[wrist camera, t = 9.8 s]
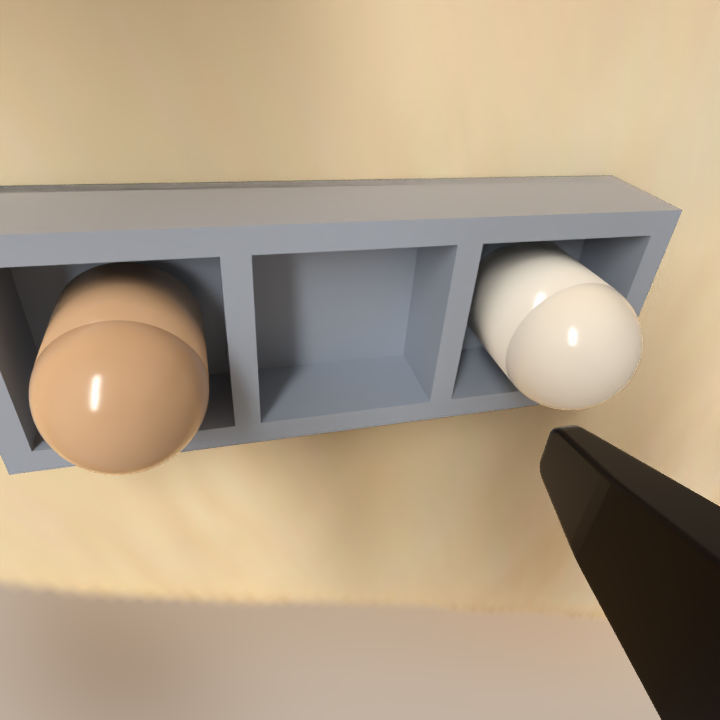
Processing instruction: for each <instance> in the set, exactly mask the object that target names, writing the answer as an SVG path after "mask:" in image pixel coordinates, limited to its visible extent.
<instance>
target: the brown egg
mask: <svg viewBox="0 0 720 720" xmlns="http://www.w3.org/2000/svg"><path fill="white" fill-rule="evenodd" d="M208 402H209V374H208V361H207V349H206V336H205V323H204V317H203V312H202V309H201V307H200V304H199V302H198V301H197V299H196V297H195V296H194V294H193V293H192V292H191V291H190V289H189V288H188V287H187V286H186V285H185V284H183V283H182V282H181V281H180V280H179V279H177V278H176V277H174V276H172V275H171V274H169V273H167V272H165V271H163V270H161V269H158V268H155V267H153V266H149V265H145V264H141V263H132V262H116V263H108V264H103V265H99V266H96V267H93V268H91V269H88V270H86V271H84V272H82V273H81V274H79V275H78V276H76V277H75V278H74V279H72V280H71V281H70V282H69V283H68V284H67V285H66V286H65V288H64V289H63V290H62V292H61V293H60V295H59V297H58V299H57V301H56V304H55V307H54V310H53V313H52V315H51V318H50V321H49V324H48V327H47V330H46V332H45V335H44V338H43V341H42V344H41V347H40V349H39V352H38V355H37V358H36V361H35V363H34V366H33V370H32V373H31V377H30V382H29V406H30V410H31V414H32V417H33V421H34V423H35V425H36V427H37V429H38V431H39V433H40V435H41V436H42V438H43V439H44V440H45V442H46V443H47V444H48V445H49V446H50V447H51V448H52V449H53V450H54V451H55V452H56V453H57V454H58V455H60V456H61V457H62V458H63V459H65V460H67V461H68V462H70V463H72V464H74V465H76V466H78V467H80V468H83V469H85V470H88V471H92V472H96V473H101V474H110V475H125V474H133V473H138V472H142V471H146V470H149V469H151V468H154V467H156V466H159V465H161V464H163V463H165V462H166V461H168V460H170V459H171V458H173V457H174V456H175V455H176V454H178V453H179V452H180V451H181V450H183V449H184V448H185V447H186V446H187V444H188V443H189V442H190V441H191V440H192V439H193V437H194V436H195V434H196V433H197V431H198V430H199V428H200V426H201V424H202V422H203V420H204V417H205V414H206V411H207V407H208Z"/></svg>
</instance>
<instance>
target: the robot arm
mask: <svg viewBox="0 0 720 720" xmlns="http://www.w3.org/2000/svg"><path fill="white" fill-rule="evenodd" d="M540 473H541V477H542V479H543V482H544V484H545V487H546V489H547V492H548V494H549V496H550V499H551V501H552V504H553V506H554V509H555V511H556V513H557V516H558V518H559V521H560V523H561V526H562V528H563V530H564V533H565V535H566V538H567V540H568V543H569V545H570V547H571V549H572V552H573V554H574V556H575V558H576V560H577V562H578V564H579V566H580V568H581V570H582V572H583V574H584V576H585V578H586V580H587V582H588V583H589V585H590V587H591V589H592V591H593V593H594V595H595V597H596V598H597V600H598V602H599V604H600V606H601V608H602V610H603V611H604V613H605V615H606V617H607V619H608V621H609V623H610V625H611V626H612V628H613V630H614V632H615V634H616V636H617V638H618V640H619V641H620V643H621V645H622V647H623V648H624V650H625V652H626V654H627V656H628V658H629V660H630V662H631V664H632V666H633V668H634V669H635V671H636V673H637V675H638V677H639V679H640V681H641V682H642V684H643V686H644V688H645V690H646V692H647V694H648V695H649V697H650V699H651V701H652V703H653V705H654V707H655V708H656V711H657V712H658V714H659V716H660V718H661V720H720V506H718V505H716V504H715V503H713V502H711V501H709V500H708V499H706V498H704V497H702V496H701V495H699V494H697V493H695V492H694V491H692V490H690V489H688V488H687V487H685V486H683V485H681V484H680V483H678V482H676V481H674V480H673V479H671V478H669V477H667V476H666V475H664V474H662V473H660V472H659V471H657V470H655V469H653V468H652V467H650V466H648V465H646V464H645V463H643V462H641V461H639V460H638V459H636V458H634V457H632V456H631V455H629V454H627V453H625V452H624V451H622V450H620V449H618V448H617V447H615V446H613V445H611V444H610V443H608V442H606V441H604V440H603V439H601V438H599V437H597V436H596V435H594V434H592V433H590V432H589V431H587V430H585V429H583V428H581V427H579V426H575V425H573V426H565V427H558V428H555V429H553V430H552V431H551V433H550V435H549V438H548V440H547V443H546V446H545V449H544V452H543V455H542V458H541V461H540Z"/></svg>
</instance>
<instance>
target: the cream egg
mask: <svg viewBox="0 0 720 720" xmlns="http://www.w3.org/2000/svg"><path fill="white" fill-rule="evenodd" d="M467 325H468V327H469V329H470V330H471V331H472V332H473V334H474V335H475V336H476V338H477V339H478V340H479V341H480V343H481V344H482V345H483V346H484V348H485V349H486V350H487V352H488V353H489V354H490V355H491V357H492V358H493V359H494V360H495V362H496V363H497V364H498V366H499V367H500V368H501V369H502V371H503V372H504V373H505V374H506V376H507V377H508V378H509V380H510V381H511V382H512V383H513V385H514V386H515V387H516V388H517V389H518V390H519V391H520V392H521V393H523V394H524V395H525V396H526V397H528V398H529V399H531V400H533V401H535V402H536V403H538V404H541V405H543V406H546V407H549V408H553V409H559V410H581V409H587V408H590V407H594V406H597V405H599V404H602V403H604V402H606V401H608V400H609V399H611V398H612V397H614V396H615V395H616V394H618V393H619V392H620V391H621V390H622V389H623V388H624V387H625V386H626V385H627V384H628V383H629V381H630V380H631V379H632V377H633V376H634V374H635V372H636V370H637V368H638V365H639V363H640V360H641V355H642V349H643V337H642V329H641V326H640V322H639V319H638V317H637V315H636V313H635V311H634V309H633V307H632V306H631V305H630V303H629V302H628V301H627V300H626V298H625V297H624V296H622V295H621V294H620V293H619V292H618V291H617V290H616V289H614V288H613V287H612V286H610V285H609V284H608V283H606V282H605V281H604V280H602V279H601V278H600V277H598V276H597V275H596V274H594V273H593V272H592V271H590V270H589V269H588V268H586V267H585V266H584V265H582V264H581V263H580V262H578V261H577V260H576V259H574V258H573V257H572V256H570V255H569V254H568V253H566V252H565V251H564V250H562V249H561V248H560V247H559V246H557V245H555V244H553V243H551V242H548V241H530V242H517V243H514V244H512V245H507V246H503V247H501V248H498V249H496V250H494V251H493V252H491V253H490V254H488V255H487V256H486V257H485V258H484V259H483V260H482V261H481V262H480V263H479V267H478V272H477V277H476V282H475V287H474V292H473V296H472V301H471V306H470V311H469V316H468V321H467Z"/></svg>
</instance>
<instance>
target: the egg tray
mask: <svg viewBox="0 0 720 720" xmlns="http://www.w3.org/2000/svg"><path fill="white" fill-rule="evenodd" d="M681 212H682V210H681V209H679V208H677V207H675V206H673V205H671V204H669V203H667V202H665V201H663V200H661V199H659V198H657V197H655V196H653V195H651V194H649V193H647V192H645V191H643V190H641V189H639V188H637V187H635V186H633V185H631V184H629V183H627V182H625V181H623V180H621V179H619V178H617V177H614V176H555V177H496V178H437V179H378V180H319V181H260V182H201V183H142V184H83V185H24V186H0V455H1V457H2V459H3V462H4V464H5V466H6V468H7V471H8V473H9V475H11V474H18V473H26V472H33V471H41V470H49V469H56V468H64V467H71V466H76V465H74V464H72V463H70V462H68V461H67V460H65V459H63V458H62V457H61V456H60V455H58V454H57V453H56V452H55V451H54V450H53V449H52V448H51V447H50V446H49V445H48V444H47V443H46V442H45V440H44V439H43V438H42V436H41V435H40V433H39V431H38V429H37V427H36V425H35V423H34V421H33V417H32V414H31V410H30V406H29V382H30V377H31V373H32V370H33V366H34V363H35V361H36V358H37V355H38V352H39V349H40V347H41V344H42V341H43V338H44V335H45V332H46V330H47V327H48V324H49V321H50V318H51V315H52V313H53V310H54V307H55V304H56V301H57V299H58V297H59V295H60V293H61V292H62V290H63V289H64V288H65V286H66V285H67V284H68V283H69V282H70V281H71V280H72V279H74V278H75V277H76V276H78V275H79V274H81V273H82V272H84V271H86V270H88V269H91V268H93V267H96V266H99V265H103V264H108V263H116V262H132V263H141V264H145V265H149V266H153V267H155V268H158V269H161V270H163V271H165V272H167V273H169V274H171V275H172V276H174V277H176V278H177V279H179V280H180V281H181V282H182V283H183V284H185V285H186V286H187V287H188V288H189V289H190V291H191V292H192V293H193V294H194V296H195V297H196V299H197V301H198V302H199V304H200V307H201V309H202V312H203V317H204V323H205V336H206V349H207V361H208V374H209V402H208V407H207V411H206V414H205V417H204V420H203V422H202V424H201V426H200V428H199V430H198V431H197V433H196V434H195V436H194V437H193V439H192V440H191V441H190V442H189V443H188V444H187V446H186V447H185V448H184V449H183V450H181V451H180V452H185V451H192V450H200V449H208V448H215V447H223V446H230V445H238V444H245V443H253V442H261V441H268V440H276V439H283V438H291V437H298V436H306V435H314V434H321V433H329V432H336V431H344V430H351V429H359V428H367V427H374V426H382V425H389V424H397V423H404V422H412V421H420V420H427V419H435V418H442V417H450V416H457V415H465V414H473V413H480V412H488V411H495V410H503V409H510V408H518V407H526V406H533V405H541V404H538V403H536V402H535V401H533V400H531V399H529V398H528V397H526V396H525V395H524V394H523V393H521V392H520V391H519V390H518V389H517V388H516V387H515V386H514V385H513V383H512V382H511V381H510V380H509V378H508V377H507V376H506V374H505V373H504V372H503V371H502V369H501V368H500V367H499V366H498V364H497V363H496V362H495V360H494V359H493V358H492V357H491V355H490V354H489V353H488V352H487V350H486V349H485V348H484V346H483V345H482V344H481V343H480V341H479V340H478V339H477V338H476V336H475V335H474V334H473V332H472V331H471V330H470V329H469V327H468V325H467V321H468V316H469V311H470V306H471V301H472V296H473V292H474V287H475V282H476V277H477V272H478V267H479V263H480V262H481V261H482V260H483V259H484V258H485V257H486V256H487V255H488V254H490V253H491V252H493V251H494V250H496V249H498V248H501V247H503V246H507V245H512V244H514V243H517V242H530V241H548V242H551V243H553V244H555V245H557V246H559V247H560V248H561V249H562V250H564V251H565V252H566V253H568V254H569V255H570V256H572V257H573V258H574V259H576V260H577V261H578V262H580V263H581V264H582V265H584V266H585V267H586V268H588V269H589V270H590V271H592V272H593V273H594V274H596V275H597V276H598V277H600V278H601V279H602V280H604V281H605V282H606V283H608V284H609V285H610V286H612V287H613V288H614V289H616V290H617V291H618V292H619V293H620V294H621V295H622V296H624V297H625V298H626V300H627V301H628V302H629V303H630V305H631V306H632V307H633V309H634V311H635V313H636V315H637V317H638V316H639V313H640V311H641V309H642V306H643V304H644V301H645V299H646V296H647V294H648V292H649V289H650V287H651V284H652V282H653V280H654V277H655V275H656V272H657V270H658V267H659V265H660V263H661V260H662V258H663V255H664V253H665V250H666V248H667V246H668V243H669V241H670V238H671V236H672V234H673V231H674V229H675V226H676V224H677V221H678V219H679V217H680V214H681Z"/></svg>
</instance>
